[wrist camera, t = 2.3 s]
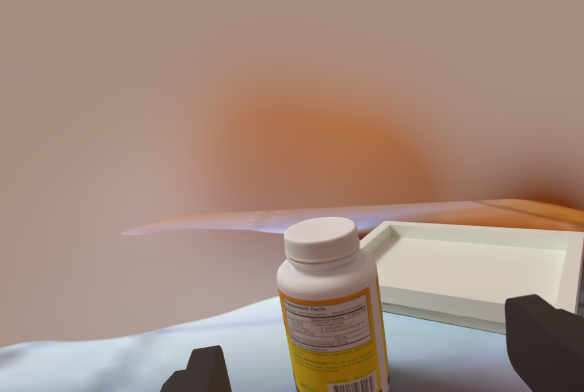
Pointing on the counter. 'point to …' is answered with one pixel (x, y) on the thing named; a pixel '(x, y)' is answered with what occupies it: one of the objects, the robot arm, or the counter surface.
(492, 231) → the tray
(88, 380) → the counter surface
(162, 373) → the counter surface
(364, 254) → the supplement bottle
